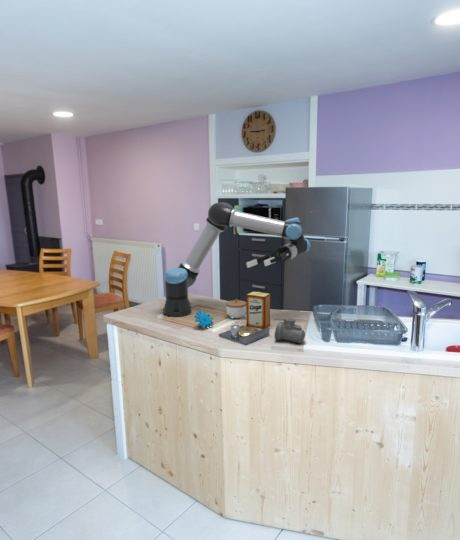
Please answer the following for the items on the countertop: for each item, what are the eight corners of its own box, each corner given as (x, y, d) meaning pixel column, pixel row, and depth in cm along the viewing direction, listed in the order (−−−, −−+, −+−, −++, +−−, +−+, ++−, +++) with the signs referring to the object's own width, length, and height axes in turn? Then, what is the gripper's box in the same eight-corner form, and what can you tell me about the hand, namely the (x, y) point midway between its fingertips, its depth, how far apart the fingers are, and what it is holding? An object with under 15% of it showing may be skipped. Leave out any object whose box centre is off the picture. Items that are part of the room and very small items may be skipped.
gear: (200, 328, 178) (193, 310, 183) (194, 334, 182) (187, 316, 186) (219, 326, 186) (211, 308, 190) (212, 332, 189) (205, 315, 194)
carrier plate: (218, 336, 172) (218, 323, 171) (242, 327, 184) (242, 315, 183) (246, 345, 162) (246, 331, 161) (269, 335, 173) (269, 322, 172)
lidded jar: (221, 317, 200) (221, 299, 199) (237, 313, 207) (236, 296, 206) (235, 321, 192) (235, 303, 191) (250, 317, 199) (250, 299, 198)
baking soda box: (269, 325, 187) (270, 292, 184) (264, 329, 181) (265, 296, 178) (252, 322, 191) (252, 290, 188) (246, 326, 186) (246, 293, 183)
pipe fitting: (272, 341, 165) (275, 318, 163) (278, 336, 172) (282, 314, 170) (299, 348, 160) (303, 325, 158) (304, 343, 167) (308, 321, 165)
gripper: (305, 257, 189) (274, 270, 177) (272, 261, 209) (242, 272, 197) (302, 242, 188) (270, 254, 176) (268, 247, 208) (238, 258, 196)
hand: (255, 264), depth 187 cm, fingers open, 13 cm apart
